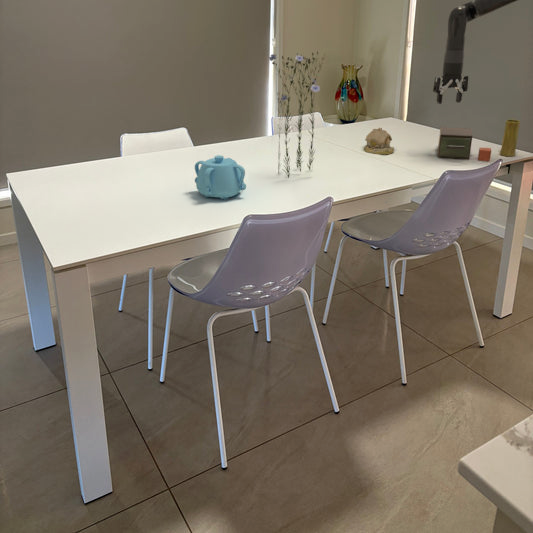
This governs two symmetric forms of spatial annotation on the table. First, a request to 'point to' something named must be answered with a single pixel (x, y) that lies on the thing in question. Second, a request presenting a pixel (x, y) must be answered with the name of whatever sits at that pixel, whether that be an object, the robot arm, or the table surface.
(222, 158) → the decorative pot
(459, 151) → the drawer
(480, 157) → the block
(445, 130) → the cabinet
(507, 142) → the vase
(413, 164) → the table surface
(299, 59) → the wildflower
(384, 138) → the ceramic model
